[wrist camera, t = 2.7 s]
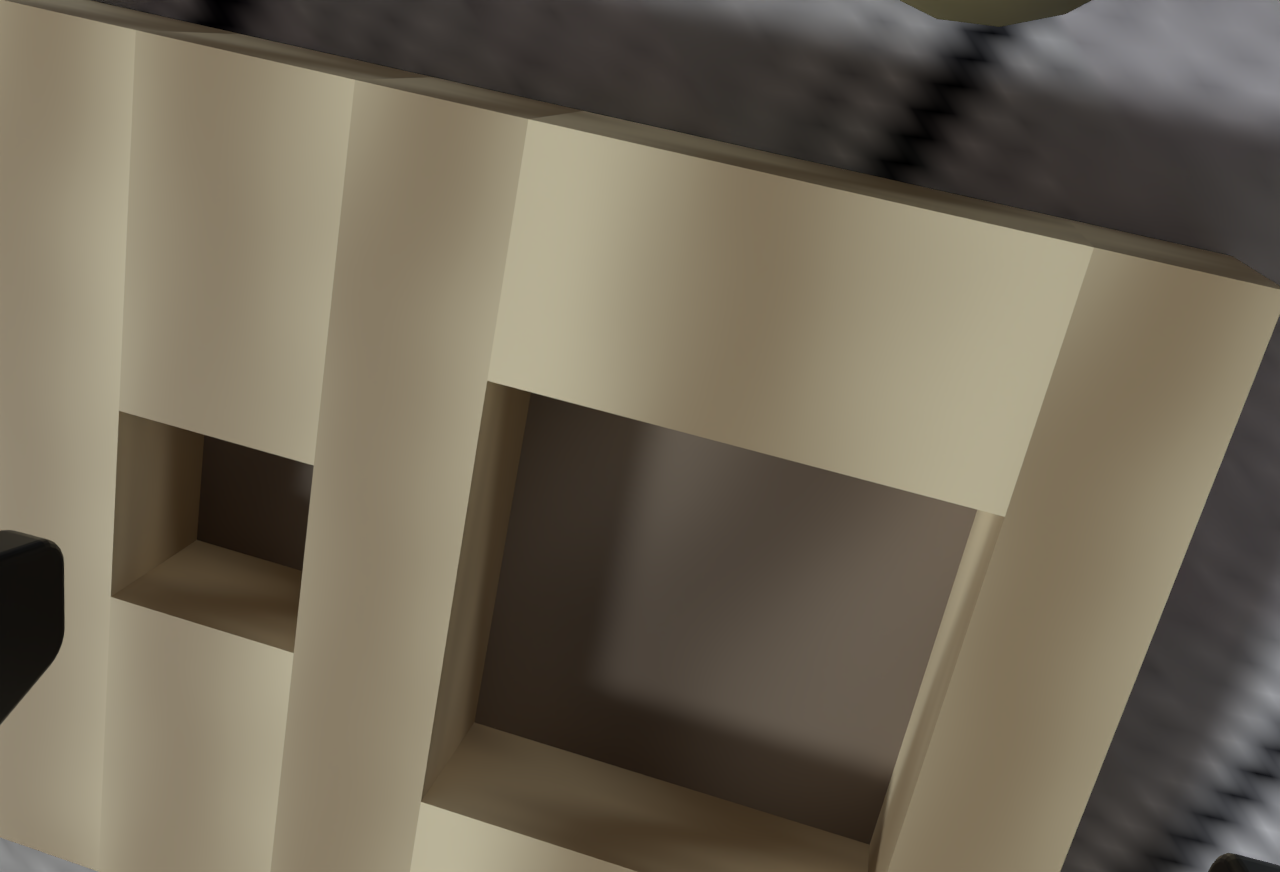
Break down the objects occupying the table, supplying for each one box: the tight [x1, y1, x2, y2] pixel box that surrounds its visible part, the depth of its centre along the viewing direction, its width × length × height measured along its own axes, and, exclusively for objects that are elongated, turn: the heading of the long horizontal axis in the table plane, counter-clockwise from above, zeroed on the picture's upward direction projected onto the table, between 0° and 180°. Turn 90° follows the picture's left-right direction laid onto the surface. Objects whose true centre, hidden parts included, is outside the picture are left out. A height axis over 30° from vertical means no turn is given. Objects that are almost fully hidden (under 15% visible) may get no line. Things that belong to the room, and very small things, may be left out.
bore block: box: [0, 0, 1280, 872], centre depth 21 cm, size 20×16×3 cm
